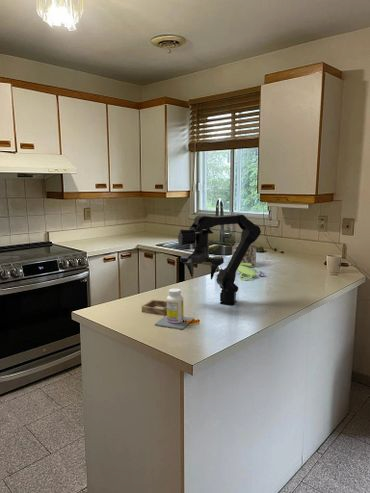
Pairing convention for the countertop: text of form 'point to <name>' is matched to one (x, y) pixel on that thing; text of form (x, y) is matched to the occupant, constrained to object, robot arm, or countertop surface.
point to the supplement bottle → (175, 306)
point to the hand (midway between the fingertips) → (201, 278)
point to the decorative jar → (247, 255)
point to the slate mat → (165, 323)
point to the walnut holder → (150, 309)
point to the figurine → (248, 271)
